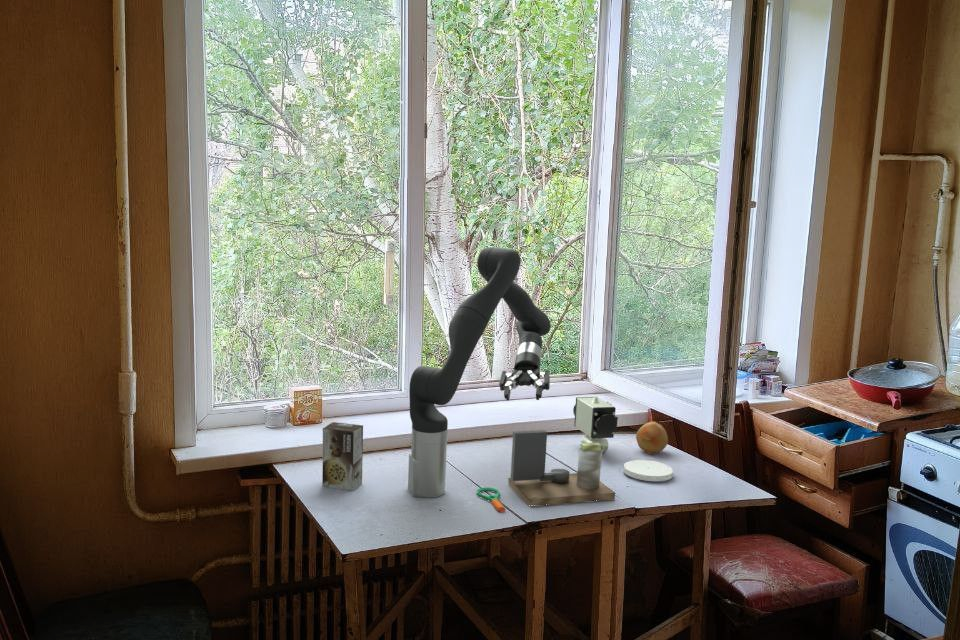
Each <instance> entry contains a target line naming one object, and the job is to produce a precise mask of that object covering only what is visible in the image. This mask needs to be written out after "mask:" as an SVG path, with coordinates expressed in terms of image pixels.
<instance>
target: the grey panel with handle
mask: <svg viewBox="0 0 960 640" xmlns="http://www.w3.org/2000/svg"><path fill="white" fill-rule="evenodd" d="M547 441H548V431H547V430H544V429H543V430H542V429H541V430H521V431H512V445H511V447H512V448H511V461H510V462H511V463H510V465H511V466H510V478H511V480H512V481H522V480H537V479H539V480H540V481H552V482H555V483H561V484H563V483H568V482H569V476H570V474H571V473H570V471H569V470H568V469H564V468H553V469H551V471H550V472H545V471H546V459H547V458H546V456H547Z"/></svg>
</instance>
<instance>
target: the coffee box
mask: <svg viewBox="0 0 960 640" xmlns="http://www.w3.org/2000/svg"><path fill="white" fill-rule="evenodd" d="M363 437H364V425H362V424H361V425H360V424H354V423H353V424H352V423H346V422H338V421H337V422H334V421H333V422H330V423H329V424H328V425H326V426H324V427H322V475H321V476H322V477H321V478H322V487H323V488H331V489H339V490H346V491H354V490H356V489H358V488H359V487H360V486H361V485H362V484H363V451H364V447H363V446H364V444H363V443H364V438H363Z"/></svg>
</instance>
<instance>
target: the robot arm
mask: <svg viewBox="0 0 960 640" xmlns="http://www.w3.org/2000/svg"><path fill="white" fill-rule="evenodd" d="M521 262H522V261H521V255H520V254H519V252H518V251H517V250H516V249H512V248H507V247H506V248H505V247H497V246H496V247H495V246H493V247H492V246H488V247H484V248H483V249H481V250H480V252H479V253H478V256H477V259H476V263H477V264H476V265H477V270H478V273H479V274H480V276H481V277H482V278H483V279H484V281H486V284H485V285H484V286H482V287H481V288H480V289H478V290H477V291H476V292H474V293H473V294H470V295H469V296H468V297H467V298H466V299H465V300H463V301H462V302H461V303H460V304H459V306H458V307H457V308H456V311H455V312H454V314H453V316H452V318H451V320H450V322H449V324H448V339H449V346H450V349H449V350H450V351H449V355H448V358H447V360H446V361H445V364H444V365H443V366H442V367H441V368H439V367H433V366H427V365H419V366H417V367H416V368H415V369H414V370H413V372H412V374H411V377H410V381H409V388H408V389H409V417H410V421H411V447H410V451H411V452H410V453H409V454H408V472H407V473H408V474H407V477H408V478H407V490H408V491H409V493H410V494H411V497H419V498H437V497H440V496H442V495H444V494H445V492H446V475H447V474H446V473H447V450H448V425H449V423H448V418H447V416H446V415H444V414H443V413H442V412H441V411H439V410H438V409H437V407H436V406H445V405H447V404H449V403H450V402H451V400H452V399H453V397H454V395H455V393H456V392H457V390H458V387H459V384H460V382H461V379H462V377H463V375H464V373H465V369H466V367H467V365H468V363H469V361H470V359H471V357H472V354H473V353H474V350H475V348H476V346H477V344H478V343H479V342H480V339H481V337H482V335H484V333H485V330H486V328H487V327H488V324H489V322H490V320H491V318H492V316H493V314H494V313H495V311H496V309H497V307H498V305H499V303H500V301H501V300H503V301H504V302H505V304H506V305H507V306H508V308H509V310H510V311H511V313H512V314H513V316H514V318H515V319H516V320H517V321H516V325H515V327H516V330H517V334H518V340H519V342H518V348H517V350H516V355H515V360H514V366H513V371H512V372H507V371H506V370H502V372H501V374H500V375H501V376H500V379H499V382H498V385H499V390H500V391H501V392H502V391H504V392H503V396H504V399H505V400H506V401H510V399H511V397H510V396H511V393H512V392H511V391H513V390H516V389H517V388H518V387H523V386H526V387H531V386H533V388H534V389H536V390H535V399H536V401H540V399H542V396H543V391H544V390H546V391H549V390H550V388H551V386H550V384H551V383H550V379H551V377H550V370H549V369H545V370H544V371H542V372H541V371H540V370H541V362H542V348H543V339H542V336H546V335H548V334H549V333H550V331H551V328H552V327H551V326H552V324H551V323H552V322H551V321H550V318H549V317H548V315H547V314H546V313H545V312H544V311H543V310H541V309H540V308H539V307H537V306H536V305H535V303H534V302H533V300H532V298H531V297H530V294H529V293H528V292H527V291H526V290H525V289H524V288H523V287H521V286H520V285H519V284H518V283H516V282H515V281H514V280H515V279H516V277H517V275H518V274H519V271H520V267H521ZM540 378H542V379H543V380H544V382H541V380H540ZM435 405H436V406H435Z"/></svg>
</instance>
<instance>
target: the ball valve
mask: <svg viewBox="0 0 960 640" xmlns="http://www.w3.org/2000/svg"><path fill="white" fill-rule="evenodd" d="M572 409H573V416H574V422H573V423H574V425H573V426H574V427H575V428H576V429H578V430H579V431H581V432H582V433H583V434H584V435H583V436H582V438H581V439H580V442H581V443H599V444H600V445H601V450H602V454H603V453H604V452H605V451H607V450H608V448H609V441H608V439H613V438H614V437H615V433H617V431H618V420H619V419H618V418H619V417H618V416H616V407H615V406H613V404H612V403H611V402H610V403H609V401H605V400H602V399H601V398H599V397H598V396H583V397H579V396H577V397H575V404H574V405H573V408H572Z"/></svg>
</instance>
